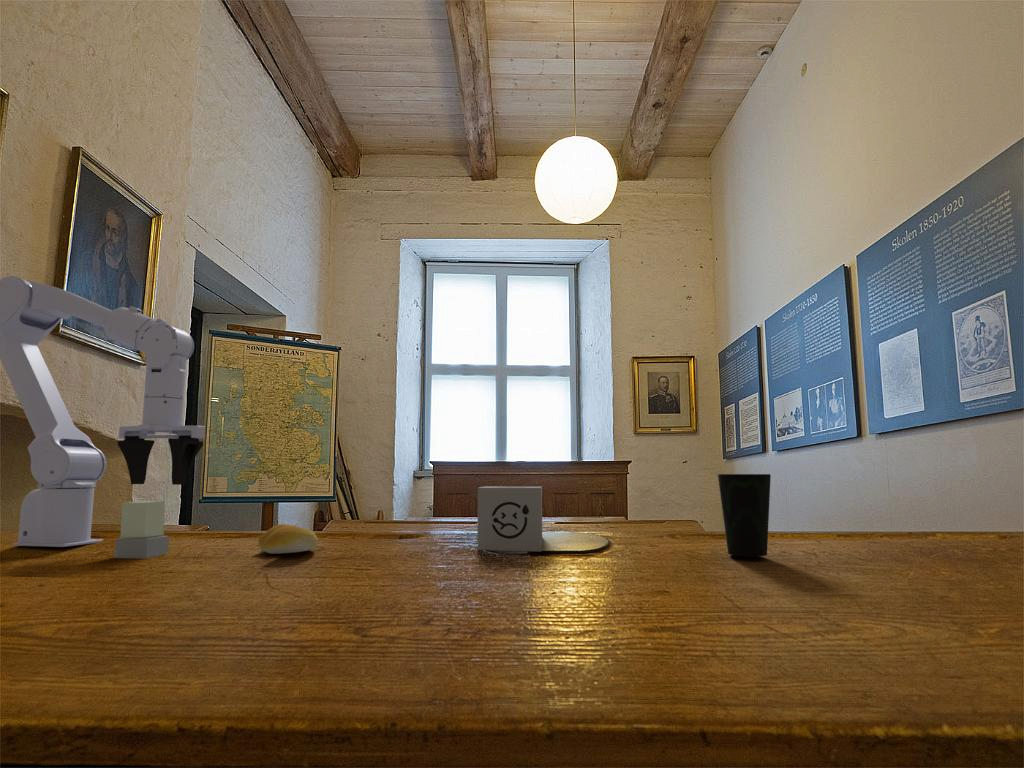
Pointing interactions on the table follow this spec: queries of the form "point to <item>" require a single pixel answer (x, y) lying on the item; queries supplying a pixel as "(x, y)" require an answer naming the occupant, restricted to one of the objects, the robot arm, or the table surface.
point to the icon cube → (509, 518)
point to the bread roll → (287, 539)
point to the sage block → (142, 519)
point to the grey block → (141, 547)
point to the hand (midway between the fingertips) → (157, 484)
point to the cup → (745, 512)
